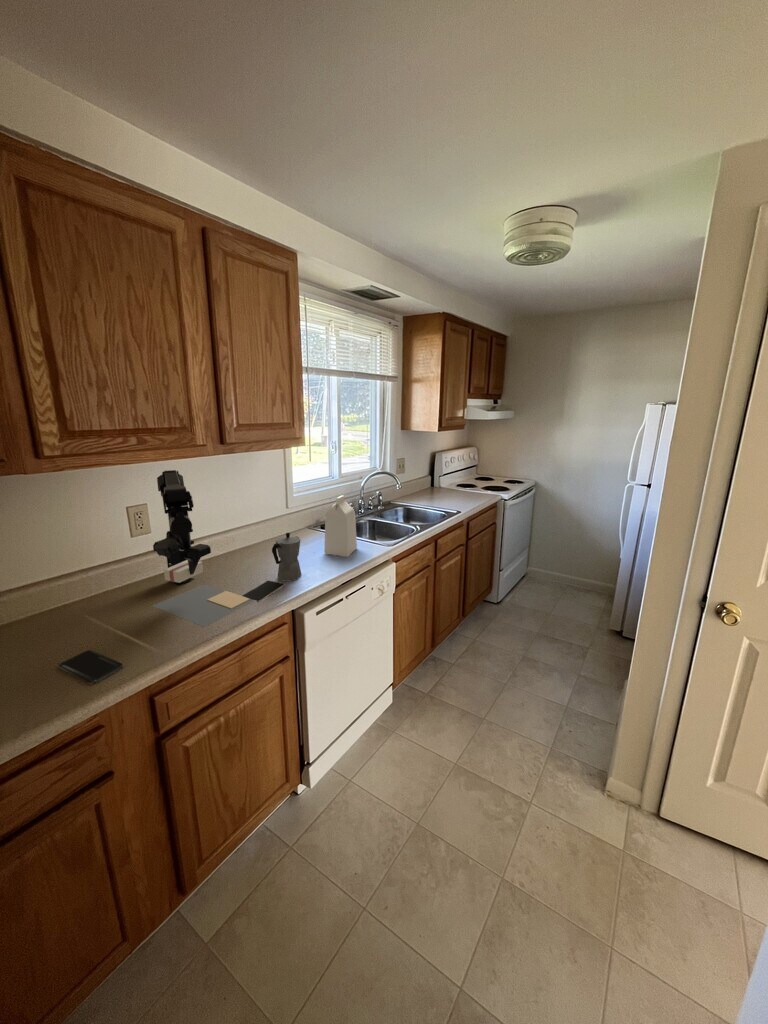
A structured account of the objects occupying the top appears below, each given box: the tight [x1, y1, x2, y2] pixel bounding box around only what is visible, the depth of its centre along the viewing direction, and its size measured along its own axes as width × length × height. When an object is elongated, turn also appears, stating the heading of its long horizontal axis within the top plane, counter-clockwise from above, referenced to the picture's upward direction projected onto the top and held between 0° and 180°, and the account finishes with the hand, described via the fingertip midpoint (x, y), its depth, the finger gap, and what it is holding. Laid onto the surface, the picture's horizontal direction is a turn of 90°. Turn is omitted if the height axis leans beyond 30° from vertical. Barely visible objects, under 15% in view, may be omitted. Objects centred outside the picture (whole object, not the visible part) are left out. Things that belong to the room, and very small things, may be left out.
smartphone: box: [242, 580, 285, 603], centre depth 149 cm, size 8×1×15 cm
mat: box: [151, 583, 255, 628], centre depth 138 cm, size 26×20×1 cm
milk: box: [323, 495, 358, 557], centre depth 189 cm, size 12×12×26 cm
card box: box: [163, 560, 204, 583], centre depth 135 cm, size 10×6×4 cm, turn 160°
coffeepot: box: [271, 532, 302, 581], centre depth 159 cm, size 15×9×18 cm, turn 153°
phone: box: [58, 649, 124, 684], centre depth 104 cm, size 8×1×15 cm
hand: (184, 572), depth 135 cm, fingers closed on card box, 6 cm apart
